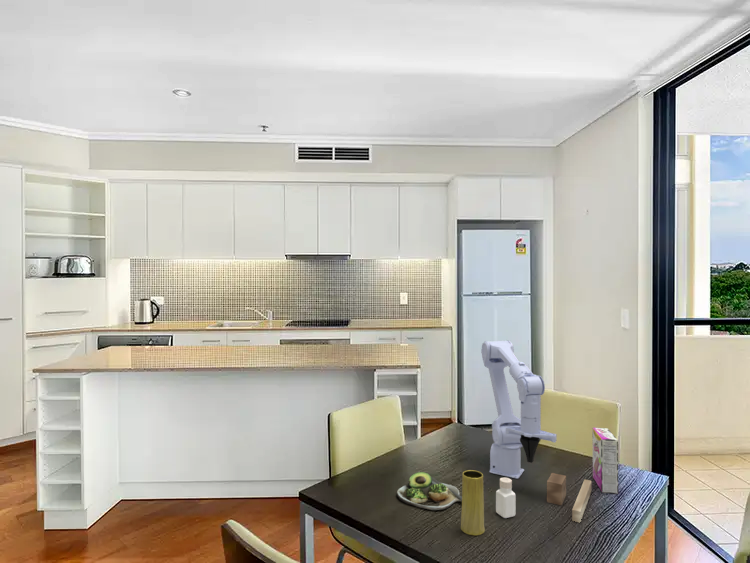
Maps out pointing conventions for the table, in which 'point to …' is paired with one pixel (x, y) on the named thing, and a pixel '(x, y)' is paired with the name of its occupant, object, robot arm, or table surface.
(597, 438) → the candy bar box
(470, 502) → the vase
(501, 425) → the robot arm
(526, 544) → the table surface
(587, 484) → the maple board
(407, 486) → the salad plate
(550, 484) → the walnut block
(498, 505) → the pepper shaker
